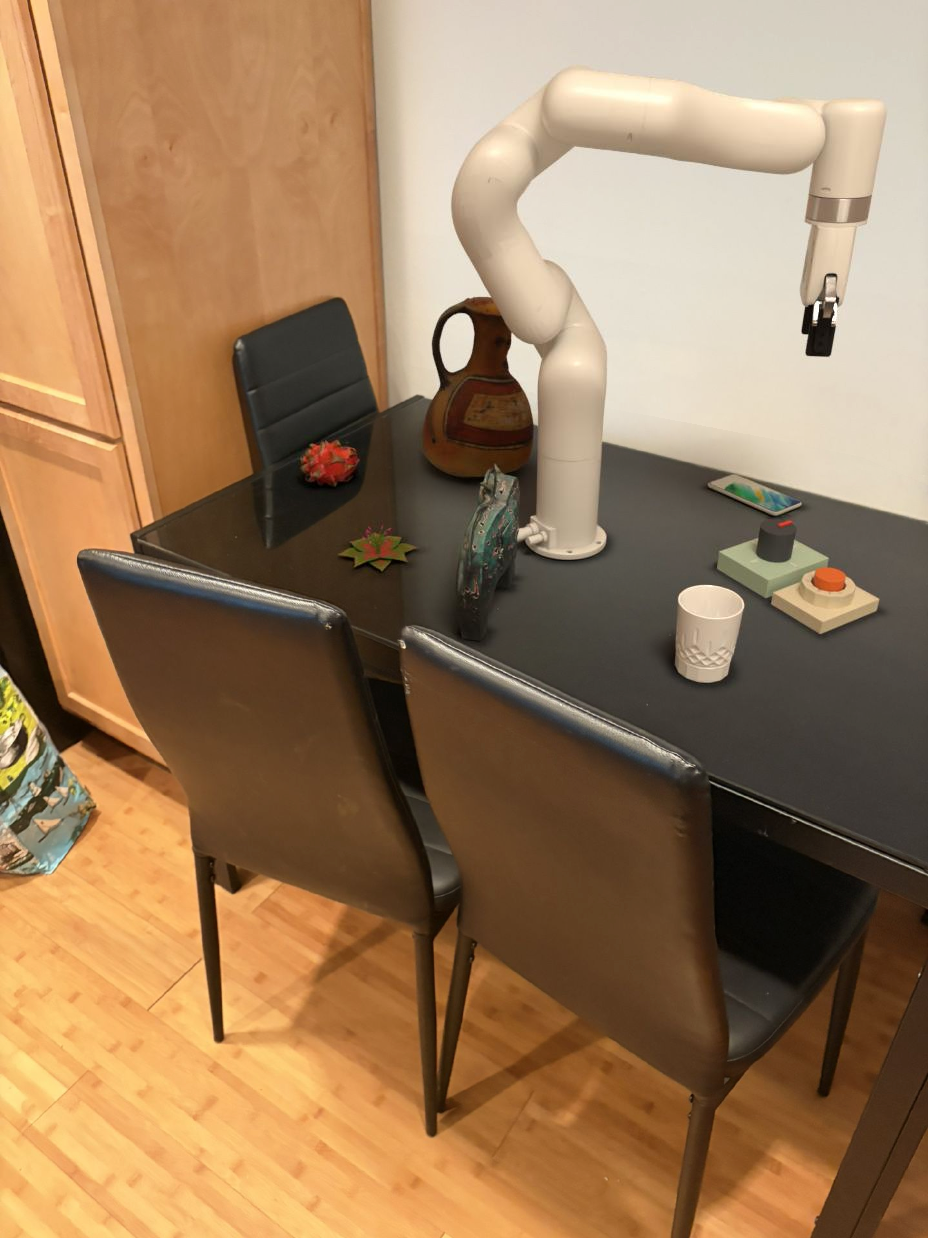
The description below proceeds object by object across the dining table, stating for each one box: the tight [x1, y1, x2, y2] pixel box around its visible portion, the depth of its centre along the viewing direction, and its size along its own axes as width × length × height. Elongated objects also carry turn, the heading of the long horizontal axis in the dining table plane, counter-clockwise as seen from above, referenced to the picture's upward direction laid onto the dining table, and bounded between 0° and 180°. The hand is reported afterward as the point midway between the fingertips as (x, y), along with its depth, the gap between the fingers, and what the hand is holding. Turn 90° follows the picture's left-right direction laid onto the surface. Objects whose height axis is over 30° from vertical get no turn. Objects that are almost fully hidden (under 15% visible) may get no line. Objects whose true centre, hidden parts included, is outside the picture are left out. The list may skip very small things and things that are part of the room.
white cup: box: [674, 584, 745, 684], centre depth 120 cm, size 8×8×10 cm
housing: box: [770, 571, 880, 635], centre depth 133 cm, size 11×9×4 cm
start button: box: [813, 566, 847, 592], centre depth 132 cm, size 4×4×2 cm
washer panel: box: [716, 537, 830, 599], centre depth 142 cm, size 12×10×3 cm
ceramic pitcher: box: [421, 296, 535, 478], centre depth 169 cm, size 20×20×30 cm
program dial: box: [756, 518, 797, 562], centre depth 140 cm, size 5×5×5 cm
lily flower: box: [337, 524, 419, 572], centre depth 149 cm, size 12×12×5 cm
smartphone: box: [707, 473, 802, 517], centre depth 164 cm, size 7×1×15 cm
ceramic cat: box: [454, 464, 521, 642], centre depth 131 cm, size 20×6×20 cm, turn 163°
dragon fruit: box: [299, 439, 361, 488], centre depth 171 cm, size 8×8×12 cm
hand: (815, 344), depth 131 cm, fingers open, 9 cm apart
